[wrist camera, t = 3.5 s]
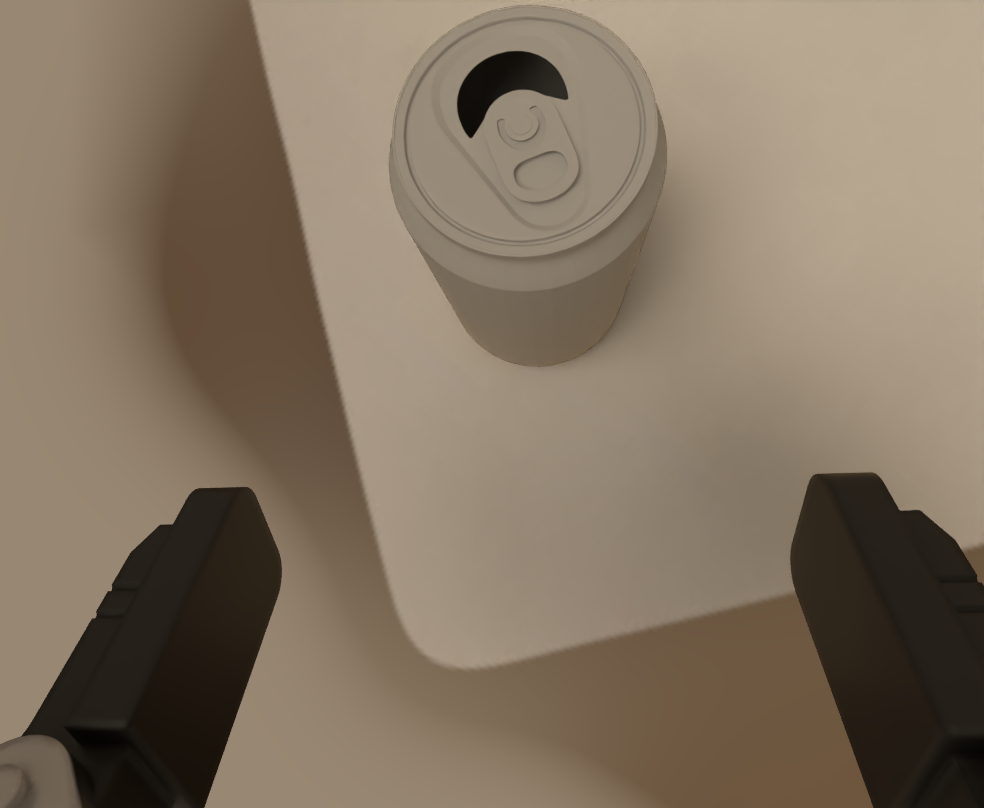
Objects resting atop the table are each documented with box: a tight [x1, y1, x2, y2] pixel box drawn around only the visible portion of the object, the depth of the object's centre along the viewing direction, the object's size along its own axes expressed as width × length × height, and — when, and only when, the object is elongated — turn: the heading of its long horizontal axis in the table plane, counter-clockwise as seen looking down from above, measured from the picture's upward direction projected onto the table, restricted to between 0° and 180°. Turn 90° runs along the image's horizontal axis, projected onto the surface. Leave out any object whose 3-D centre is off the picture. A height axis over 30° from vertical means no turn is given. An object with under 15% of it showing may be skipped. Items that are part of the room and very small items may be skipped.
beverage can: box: [389, 5, 667, 366], centre depth 20 cm, size 6×6×12 cm
